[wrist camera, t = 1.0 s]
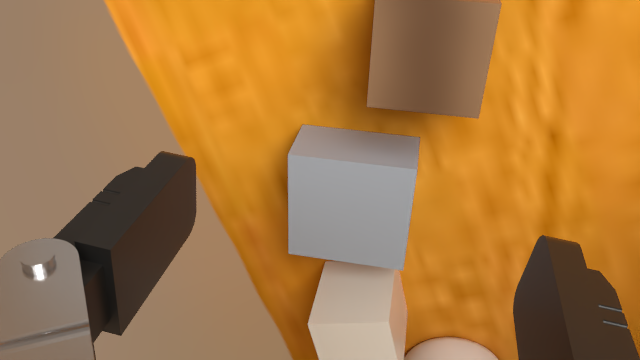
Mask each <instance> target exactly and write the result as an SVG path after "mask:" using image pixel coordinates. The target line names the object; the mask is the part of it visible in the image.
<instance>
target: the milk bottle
mask: <svg viewBox="0 0 640 360" xmlns="http://www.w3.org/2000/svg"><path fill="white" fill-rule="evenodd" d="M404 360H498V358H497V357H496V356H495V355H494V354H493V353H492V352H491V351H490V350H488V349H487V348H486V347H484V346H482V345H480V344H478V343H476V342H473V341H470V340H467V339H462V338H457V337H441V338H434V339H430V340H426V341H424V342H422V343H419V344H418V345H416V346H415V347H413V348H412V349H411V350H410V351H409V352H408V354H407V355H406V356H405V358H404Z"/></svg>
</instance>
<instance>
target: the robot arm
mask: <svg viewBox="0 0 640 360" xmlns="http://www.w3.org/2000/svg"><path fill="white" fill-rule="evenodd" d="M195 217H196V164H195V160H194V159H193V158H192V157H187V156H183V155H178V154H173V153H169V152H164V151H162V152H160V153H159V154H158V155H157V156H156V157H155V158H154V159H153V160H152V161H151V162H150V163H149V164H148V165H147V166H146V167H145V168H140V167H134V168H132V169H130V170H128V171H126V172H124V173H122V174H120V175H118V176H116V177H115V178H114V179H113V180H112V181H111V182H110V183H109V184H108V185H107V186H106V187H105V188H104V189H103V192H102V191H101V192H100V193H99V194H98V195H97V196H96V197H95V198H94V199H93V201H92V202H89V203H88V204H87V205H86V207H84V208H83V209H82V210H81V211H80V212H79V213H78V214H77V215H76V216H75V217H74V218H73V219H72V220H71V221H70V222H69V223H68V224H67V225H66V226H65V227H64V228H63V229H62V230H61V231H60V232H59V233H58V234H57V235H56V236H55V237H54V238H43V239H36V240H31V241H28V242H25V243H22V244H20V245H18V246H16V247H14V248H12V249H11V250H9V251H8V252H7V253H6V254H5V255H4V256H3V257H2V258H1V259H0V360H96V357H95V351H94V345H93V343H94V341H95V340H96V338H97V337H98V336H99V334H100V333H101V332H102V331H105V332H109V333H112V334H116V335H120V336H121V335H122V333H123V332H124V330H125V329H126V328H127V326H128V324H129V323H130V322H131V320H132V319H133V317H134V316H135V314H136V313H137V311H138V310H139V308H140V307H141V305H142V304H143V303H144V301H145V300H146V298H147V297H148V295H149V294H150V292H151V291H152V289H153V288H154V286H155V285H156V283H157V282H158V281H159V279H160V278H161V276H162V275H163V273H164V272H165V270H166V269H167V267H168V266H169V264H170V263H171V261H172V260H173V258H174V257H175V255H176V254H177V253H178V251H179V250H180V248H181V247H182V245H183V244H184V242H185V241H186V239H187V238H188V236H189V235H190V233H191V231H192V228H193V225H194V222H195ZM513 315H514V323H515V332H516V340H517V348H518V356H519V360H640V358H639V356H638V353H637V350H636V347H635V344H634V341H633V339H632V336H631V333H630V330H629V329H627V326H628V324H627V322H626V319H625V316H624V313H622V308H621V305H620V302H619V299H618V296H617V293H616V291H615V289H614V288H613V287H612V286H611V284H610V283H609V282H608V281H607V280H606V278H605V277H604V276H603V275H602V274H601V273H600V271H596V270H592V269H587V266H586V263H585V260H584V257H583V253H582V250H581V247H580V245H579V244H578V243H576V242H571V241H567V240H562V239H558V238H553V237H548V236H544V235H542V236H541V237H540V238H539V239H538V241H537V243H536V245H535V247H534V249H533V252H532V254H531V256H530V259H529V261H528V263H527V265H526V268H525V270H524V272H523V275H522V277H521V279H520V281H519V284H518V286H517V289H516V293H515V297H514V305H513Z"/></svg>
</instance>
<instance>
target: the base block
mask: <svg viewBox="0 0 640 360" xmlns="http://www.w3.org/2000/svg"><path fill="white" fill-rule="evenodd" d="M419 143H420V137H412V136H403V135H394V134H385V133H376V132H367V131H358V130H349V129H340V128H330V127H321V126H312V125H302V127H301V129H300V131H299V133H298V135H297V137H296V139H295V141H294V143H293V145H292V147H291V149H290V151H289V153H288V254H294V255H301V256H307V257H314V258H321V259H328V260H335V261H341V262H348V263H355V264H362V265H369V266H376V267H382V268H389V269H396V270H403V267H404V260H405V253H406V246H407V239H408V232H409V225H410V218H411V211H412V204H413V197H414V190H415V183H416V176H417V168H418V155H419Z"/></svg>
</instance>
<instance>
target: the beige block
mask: <svg viewBox="0 0 640 360" xmlns="http://www.w3.org/2000/svg"><path fill="white" fill-rule="evenodd" d="M407 313H408V311H407V306H406V301H405V297H404V292H403V287H402V282H401V277H400V273H399V270H396V269H389V268H382V267H376V266H369V265H362V264H355V263H348V262H341V261H326V262H325V264H324V268H323V272H322V275H321V279H320V282H319V286H318V289H317V293H316V296H315V300H314V303H313V307H312V310H311V314H310V317H309V321H308V327H309V330H310V333H311V336H312V339H313V342H314V345H315V348H316V351H317V354H318V357H319V360H404V351H405V339H406V326H407Z"/></svg>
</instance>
